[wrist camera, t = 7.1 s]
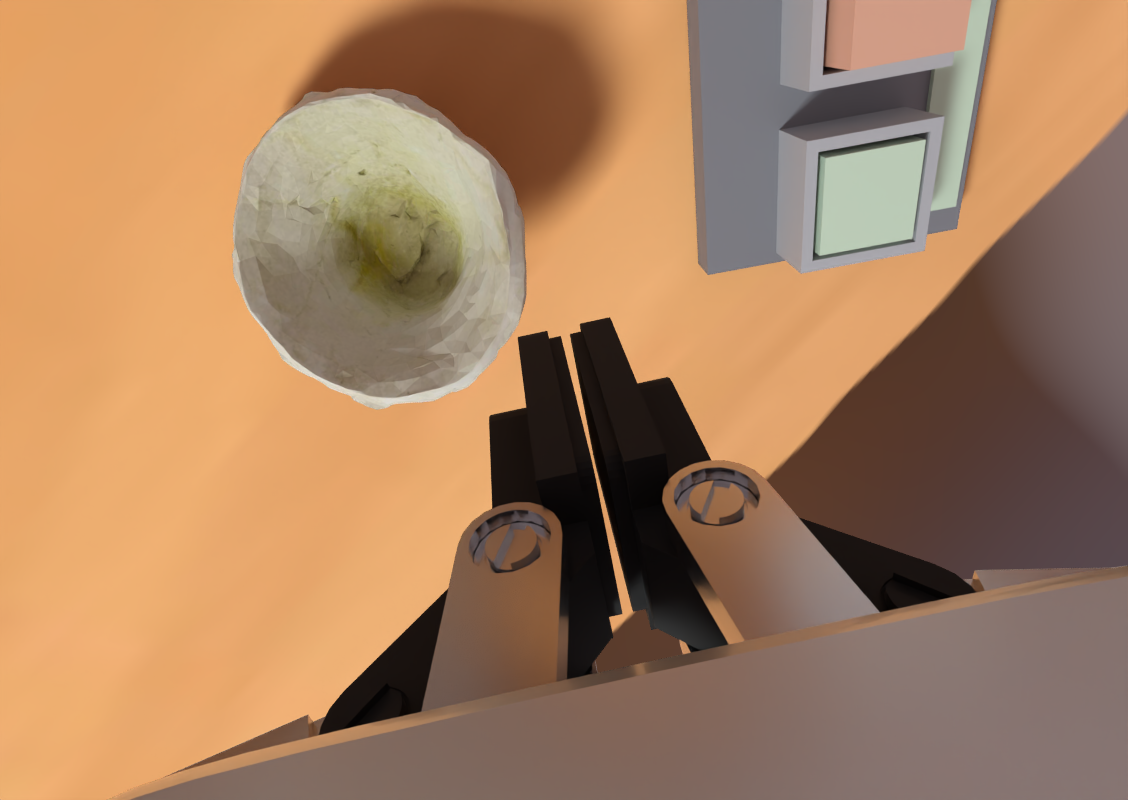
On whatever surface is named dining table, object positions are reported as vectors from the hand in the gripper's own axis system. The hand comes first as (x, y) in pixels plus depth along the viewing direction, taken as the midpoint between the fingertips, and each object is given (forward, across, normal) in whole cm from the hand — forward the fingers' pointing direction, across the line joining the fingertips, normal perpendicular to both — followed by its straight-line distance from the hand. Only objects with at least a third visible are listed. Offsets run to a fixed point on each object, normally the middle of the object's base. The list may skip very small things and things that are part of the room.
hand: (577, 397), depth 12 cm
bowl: (+27, +8, +4) cm, 29 cm away
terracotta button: (+23, -17, -3) cm, 29 cm away
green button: (+24, -17, +6) cm, 30 cm away
